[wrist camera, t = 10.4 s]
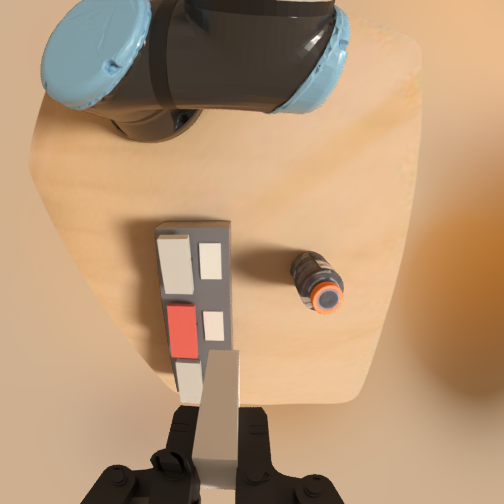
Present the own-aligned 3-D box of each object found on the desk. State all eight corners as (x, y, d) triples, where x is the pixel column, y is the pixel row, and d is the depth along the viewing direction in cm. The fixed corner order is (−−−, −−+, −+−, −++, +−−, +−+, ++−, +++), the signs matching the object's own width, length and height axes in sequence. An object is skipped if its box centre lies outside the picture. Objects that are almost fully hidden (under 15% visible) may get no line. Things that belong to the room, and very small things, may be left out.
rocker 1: (159, 234, 35) (157, 239, 33) (188, 234, 35) (186, 239, 33) (167, 287, 38) (165, 293, 37) (194, 288, 38) (192, 294, 37)
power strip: (164, 221, 41) (152, 230, 35) (230, 220, 41) (228, 229, 36) (182, 374, 49) (176, 395, 44) (234, 376, 49) (233, 397, 44)
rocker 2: (177, 358, 42) (175, 362, 40) (200, 359, 42) (199, 363, 40) (182, 397, 42) (180, 402, 41) (204, 399, 43) (203, 403, 41)
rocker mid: (169, 303, 39) (167, 305, 37) (195, 303, 39) (193, 306, 38) (173, 353, 40) (171, 357, 38) (198, 354, 40) (197, 358, 38)
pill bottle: (294, 290, 45) (309, 327, 34) (285, 257, 43) (299, 286, 32) (329, 280, 44) (353, 313, 34) (322, 246, 43) (347, 271, 32)
